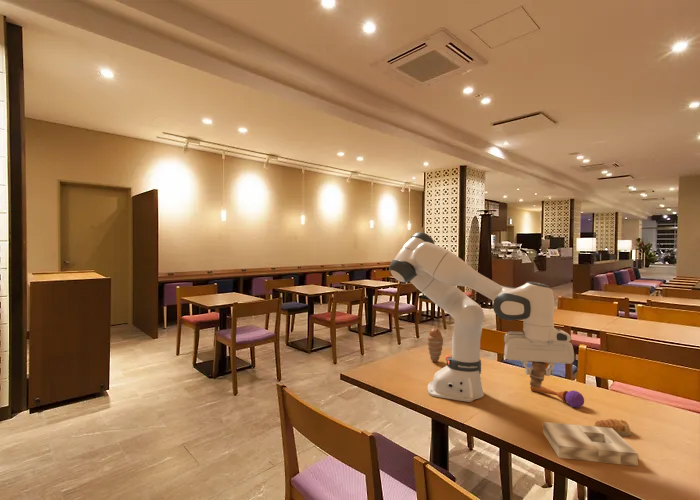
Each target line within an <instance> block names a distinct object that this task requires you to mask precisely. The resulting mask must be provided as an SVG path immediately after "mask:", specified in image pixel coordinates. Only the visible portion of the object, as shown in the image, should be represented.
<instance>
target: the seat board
mask: <svg viewBox="0 0 700 500" xmlns="http://www.w3.org/2000/svg"><path fill="white" fill-rule="evenodd" d="M542 434H543V435H544V437H545V438H546V440H547V442H548V443H549V444H550V446H551V448H552V449H553V450H554V452H555V454H556V456H557V457H558V458H559V459H567V460H568V459H569V460H577V461H586V462H596V463H597V462H598V463H607V464H615V465H616V464H618V465H626V466H633V467H634V466H636V467H638V466H639V462H638V461H639V453H638V452H637V451H636V450H635V449H634V448H633V447H632V446H631V445H630V444H629V443H628V442H627V441H626V440H625V439H624V438H623V436H621V435H618V434H617V433H616V432H615V431H614V430H613V429H612V428H606V427H595V425H594V426H593V425H582V424H571V423H570V424H569V423H559V422H547V421H543V422H542Z"/></svg>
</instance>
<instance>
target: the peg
mask: <svg viewBox="0 0 700 500" xmlns="http://www.w3.org/2000/svg"><path fill="white" fill-rule="evenodd" d="M530 368H531V370H532V372H531V375H529V378H530V383H529V385H530V387H531V386H533V387H535V388H541V386H542V383H543V382H544V379H545V369H547V362H534V361H531V367H530Z"/></svg>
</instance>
